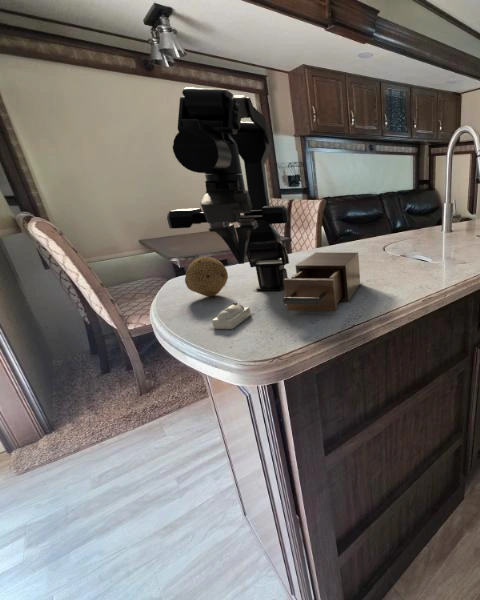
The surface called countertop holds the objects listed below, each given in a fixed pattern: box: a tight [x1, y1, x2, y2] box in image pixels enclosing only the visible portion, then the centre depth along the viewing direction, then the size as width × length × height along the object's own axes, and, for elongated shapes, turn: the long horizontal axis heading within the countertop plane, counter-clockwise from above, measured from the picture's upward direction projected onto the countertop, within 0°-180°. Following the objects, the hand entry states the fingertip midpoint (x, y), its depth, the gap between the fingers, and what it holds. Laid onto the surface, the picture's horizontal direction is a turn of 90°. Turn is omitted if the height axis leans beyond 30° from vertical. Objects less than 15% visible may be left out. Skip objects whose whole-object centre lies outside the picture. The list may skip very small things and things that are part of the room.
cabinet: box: [295, 251, 361, 302], centre depth 79 cm, size 14×12×9 cm
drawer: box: [282, 269, 345, 312], centre depth 68 cm, size 17×10×7 cm, turn 175°
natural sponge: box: [184, 256, 229, 298], centre depth 76 cm, size 9×9×10 cm
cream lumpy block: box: [211, 302, 251, 330], centre depth 63 cm, size 7×4×3 cm, turn 175°
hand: (241, 263), depth 60 cm, fingers closed
